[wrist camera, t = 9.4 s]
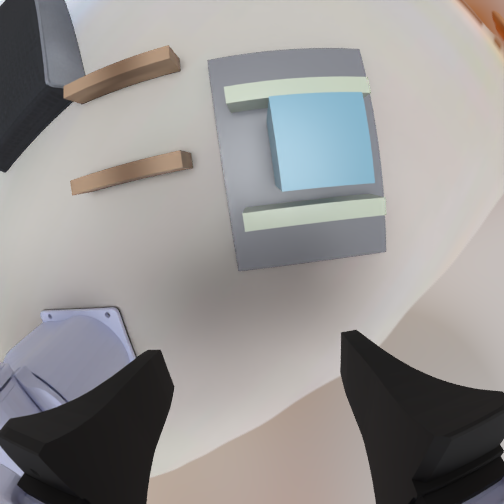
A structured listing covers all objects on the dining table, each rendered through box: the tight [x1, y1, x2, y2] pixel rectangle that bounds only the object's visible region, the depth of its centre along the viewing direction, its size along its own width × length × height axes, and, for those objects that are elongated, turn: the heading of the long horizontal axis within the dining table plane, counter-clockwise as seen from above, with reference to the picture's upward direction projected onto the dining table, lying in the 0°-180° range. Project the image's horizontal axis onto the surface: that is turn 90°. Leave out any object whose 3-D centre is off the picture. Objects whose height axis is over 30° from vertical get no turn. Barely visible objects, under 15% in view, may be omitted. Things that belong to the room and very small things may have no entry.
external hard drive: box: [0, 0, 85, 172], centre depth 13 cm, size 13×19×4 cm
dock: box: [207, 48, 386, 271], centre depth 16 cm, size 10×14×3 cm
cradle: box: [64, 45, 193, 195], centre depth 16 cm, size 8×8×2 cm
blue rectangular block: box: [266, 92, 375, 192], centre depth 14 cm, size 4×4×6 cm
